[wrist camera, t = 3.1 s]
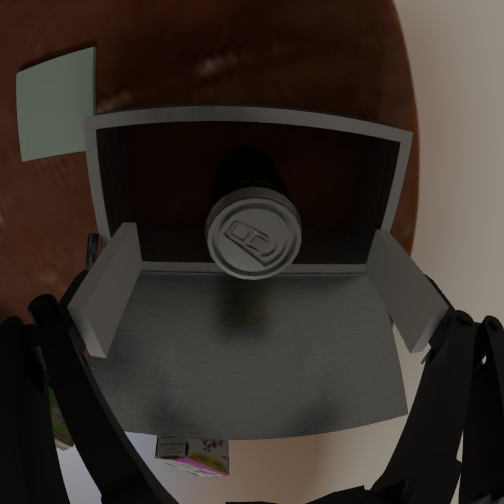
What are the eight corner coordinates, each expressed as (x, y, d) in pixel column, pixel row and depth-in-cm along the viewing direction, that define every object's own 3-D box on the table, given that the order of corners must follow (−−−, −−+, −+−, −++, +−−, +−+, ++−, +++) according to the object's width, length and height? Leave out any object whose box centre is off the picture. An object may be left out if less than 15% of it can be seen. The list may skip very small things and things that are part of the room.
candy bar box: (229, 385, 43) (231, 476, 30) (203, 391, 44) (200, 477, 30) (194, 350, 38) (186, 459, 24) (166, 357, 38) (152, 459, 25)
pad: (19, 73, 16) (16, 73, 15) (96, 47, 17) (93, 46, 16) (25, 159, 21) (22, 161, 21) (98, 147, 22) (95, 149, 22)
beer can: (204, 182, 25) (184, 254, 15) (238, 134, 23) (241, 172, 13) (252, 211, 27) (265, 296, 17) (287, 167, 25) (326, 230, 15)
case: (101, 111, 20) (-64, 182, 5) (378, 120, 22) (541, 198, 7) (124, 274, 30) (69, 419, 14) (343, 277, 32) (404, 417, 16)
